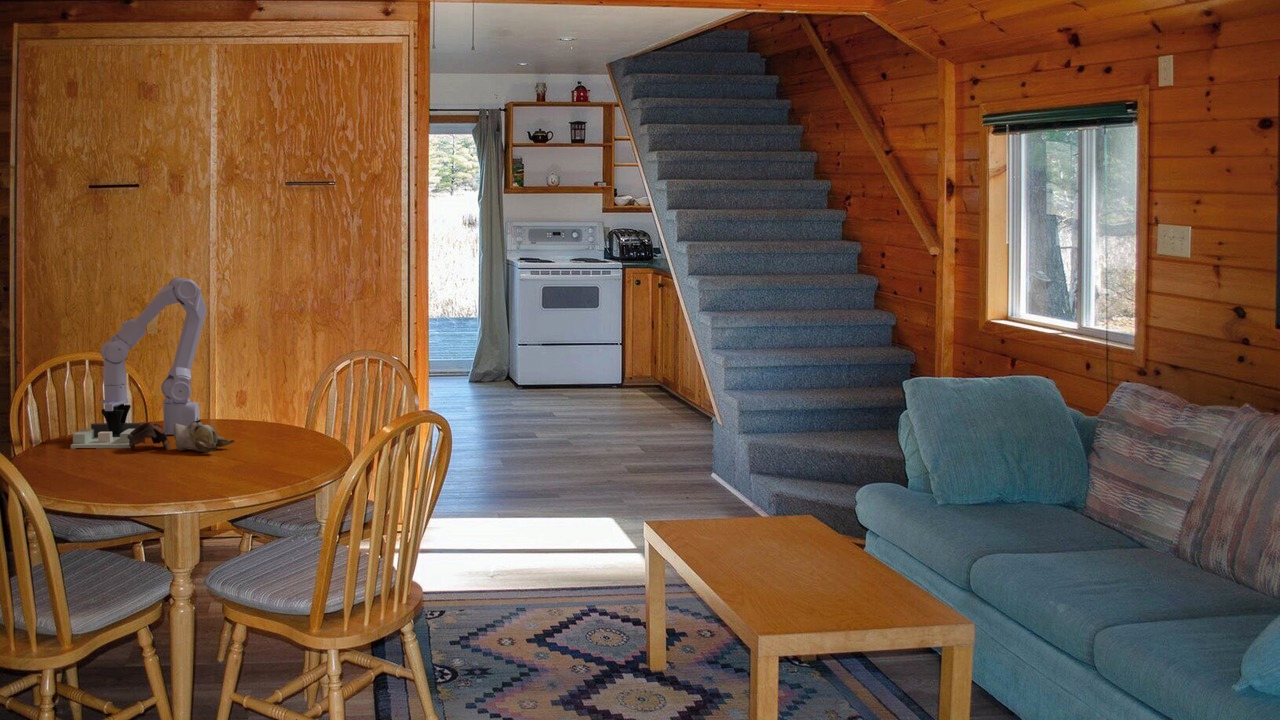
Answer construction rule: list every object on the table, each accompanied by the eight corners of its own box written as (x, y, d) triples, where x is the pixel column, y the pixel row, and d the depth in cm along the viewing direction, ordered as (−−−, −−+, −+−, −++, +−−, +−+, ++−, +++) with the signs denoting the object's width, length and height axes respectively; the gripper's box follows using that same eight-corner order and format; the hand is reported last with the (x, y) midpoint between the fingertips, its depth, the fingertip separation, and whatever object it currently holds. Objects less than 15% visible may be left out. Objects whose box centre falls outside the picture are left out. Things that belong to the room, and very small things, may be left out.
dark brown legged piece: (168, 454, 323) (150, 428, 320) (136, 469, 324) (118, 444, 320) (179, 434, 334) (162, 409, 331) (148, 449, 335) (131, 424, 331)
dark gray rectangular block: (147, 433, 348) (146, 419, 348) (140, 438, 341) (140, 424, 341) (99, 434, 347) (98, 420, 346) (91, 438, 340) (91, 424, 339)
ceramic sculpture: (184, 413, 330) (236, 419, 328) (184, 445, 331) (236, 451, 329) (163, 420, 320) (216, 426, 317) (162, 453, 321) (216, 459, 319)
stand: (141, 440, 338) (140, 427, 338) (130, 448, 327) (129, 435, 327) (83, 441, 336) (83, 428, 336) (70, 448, 325) (70, 435, 325)
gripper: (107, 380, 346) (109, 428, 348) (92, 388, 332) (94, 437, 334) (134, 380, 347) (135, 428, 349) (119, 387, 333) (121, 437, 335)
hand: (117, 432), depth 341 cm, fingers open, 4 cm apart
